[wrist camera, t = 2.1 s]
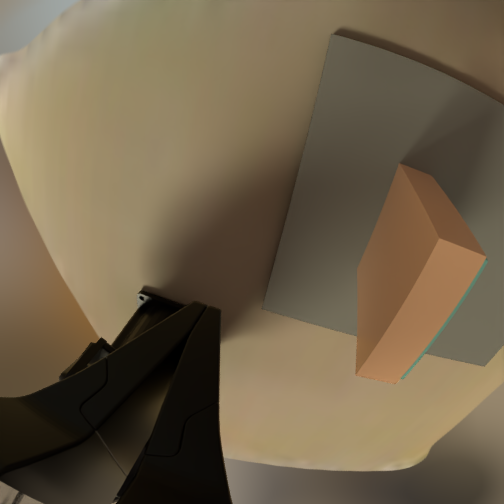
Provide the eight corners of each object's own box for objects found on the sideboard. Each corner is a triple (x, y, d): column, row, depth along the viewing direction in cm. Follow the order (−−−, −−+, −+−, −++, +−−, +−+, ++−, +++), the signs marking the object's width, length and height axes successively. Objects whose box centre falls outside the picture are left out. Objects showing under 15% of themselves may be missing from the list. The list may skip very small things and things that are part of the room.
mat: (263, 303, 23) (261, 308, 23) (331, 35, 13) (331, 33, 12) (483, 361, 21) (484, 366, 20) (595, 176, 11) (599, 179, 10)
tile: (357, 268, 19) (355, 375, 12) (399, 162, 15) (439, 238, 8) (390, 278, 19) (401, 385, 12) (436, 177, 15) (492, 259, 8)
